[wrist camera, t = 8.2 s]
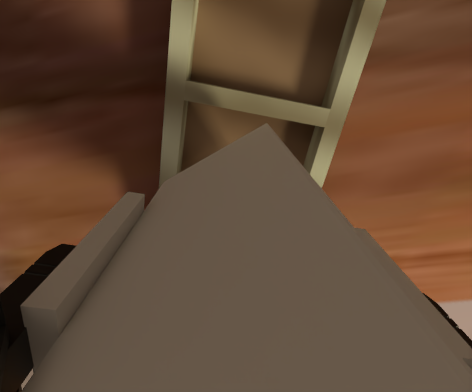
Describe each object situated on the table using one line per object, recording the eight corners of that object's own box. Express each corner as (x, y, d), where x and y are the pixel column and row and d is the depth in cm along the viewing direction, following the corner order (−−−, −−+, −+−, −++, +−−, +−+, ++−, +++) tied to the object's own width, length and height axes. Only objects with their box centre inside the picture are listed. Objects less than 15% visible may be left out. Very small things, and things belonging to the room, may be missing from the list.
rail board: (193, -129, 15) (184, -180, 12) (389, -77, 16) (424, -112, 13) (164, 218, 24) (155, 237, 21) (289, 237, 25) (297, 258, 22)
